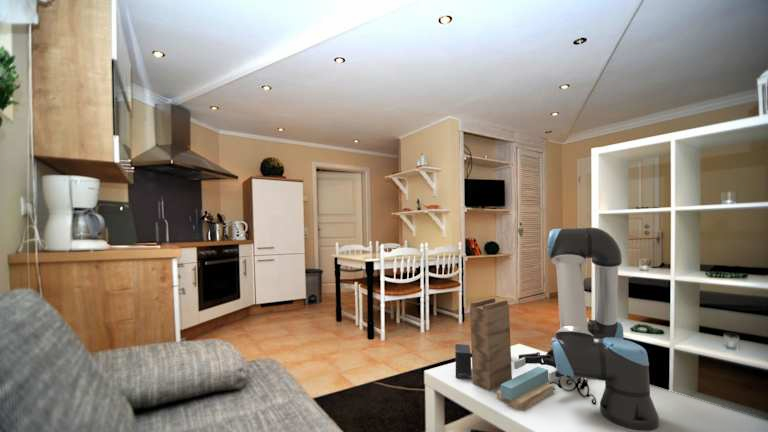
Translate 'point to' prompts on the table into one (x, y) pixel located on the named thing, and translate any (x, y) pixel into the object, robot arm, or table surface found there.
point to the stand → (490, 343)
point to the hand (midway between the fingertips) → (531, 370)
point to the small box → (463, 361)
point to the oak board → (528, 396)
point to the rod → (524, 383)
